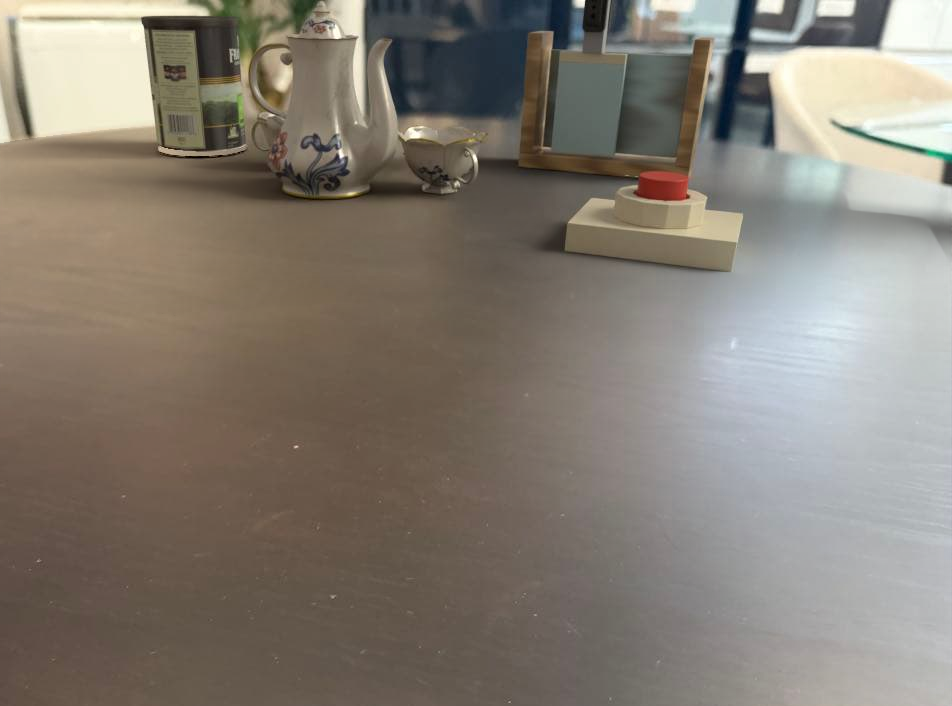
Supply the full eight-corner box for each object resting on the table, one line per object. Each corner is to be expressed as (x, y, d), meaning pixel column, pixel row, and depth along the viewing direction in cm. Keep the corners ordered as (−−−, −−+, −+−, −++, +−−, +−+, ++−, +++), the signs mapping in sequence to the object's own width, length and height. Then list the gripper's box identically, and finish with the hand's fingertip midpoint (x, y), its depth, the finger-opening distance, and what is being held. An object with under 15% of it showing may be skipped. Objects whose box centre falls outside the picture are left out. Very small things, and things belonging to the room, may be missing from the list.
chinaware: (505, 201, 84) (525, 19, 78) (434, 220, 70) (450, 0, 64) (275, 170, 95) (276, 9, 89) (174, 182, 81) (167, -9, 75)
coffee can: (244, 141, 103) (235, 15, 97) (249, 157, 94) (240, 19, 88) (157, 143, 101) (143, 14, 94) (154, 159, 92) (138, 18, 85)
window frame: (692, 174, 90) (714, 37, 84) (687, 182, 86) (711, 39, 80) (529, 159, 96) (540, 30, 90) (518, 166, 92) (528, 32, 86)
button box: (738, 240, 66) (748, 190, 65) (731, 272, 59) (742, 216, 57) (588, 223, 70) (593, 175, 69) (564, 251, 63) (569, 198, 61)
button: (687, 197, 64) (691, 173, 63) (682, 207, 61) (686, 182, 60) (640, 192, 65) (643, 169, 64) (632, 201, 62) (636, 178, 61)
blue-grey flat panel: (615, 154, 90) (638, -24, 82) (612, 157, 88) (635, -24, 80) (553, 149, 92) (569, -25, 84) (549, 151, 90) (565, -25, 83)
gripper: (648, -190, 70) (621, 36, 78) (669, -165, 81) (643, 30, 89) (560, -186, 72) (542, 33, 80) (592, -162, 84) (573, 27, 92)
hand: (595, 30), depth 85 cm, fingers closed on blue-grey flat panel, 2 cm apart
